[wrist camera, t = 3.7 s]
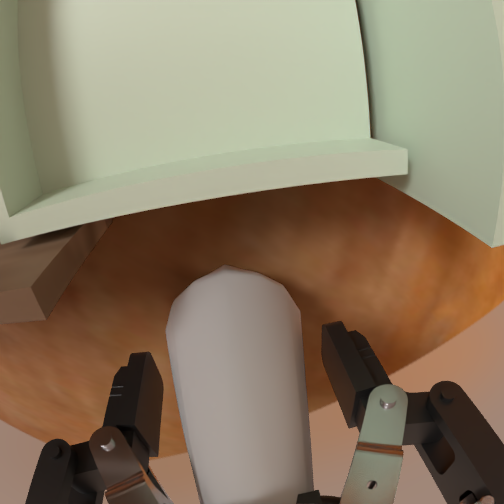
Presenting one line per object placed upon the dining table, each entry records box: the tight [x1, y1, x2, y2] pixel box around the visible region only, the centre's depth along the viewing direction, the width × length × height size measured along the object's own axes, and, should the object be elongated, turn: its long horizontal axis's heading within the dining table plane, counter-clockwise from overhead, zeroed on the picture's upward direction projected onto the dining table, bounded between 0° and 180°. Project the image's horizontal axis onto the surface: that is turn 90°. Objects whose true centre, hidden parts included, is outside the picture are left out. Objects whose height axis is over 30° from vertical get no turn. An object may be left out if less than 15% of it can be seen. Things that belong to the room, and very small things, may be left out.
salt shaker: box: [166, 264, 314, 504], centre depth 10 cm, size 6×6×13 cm
